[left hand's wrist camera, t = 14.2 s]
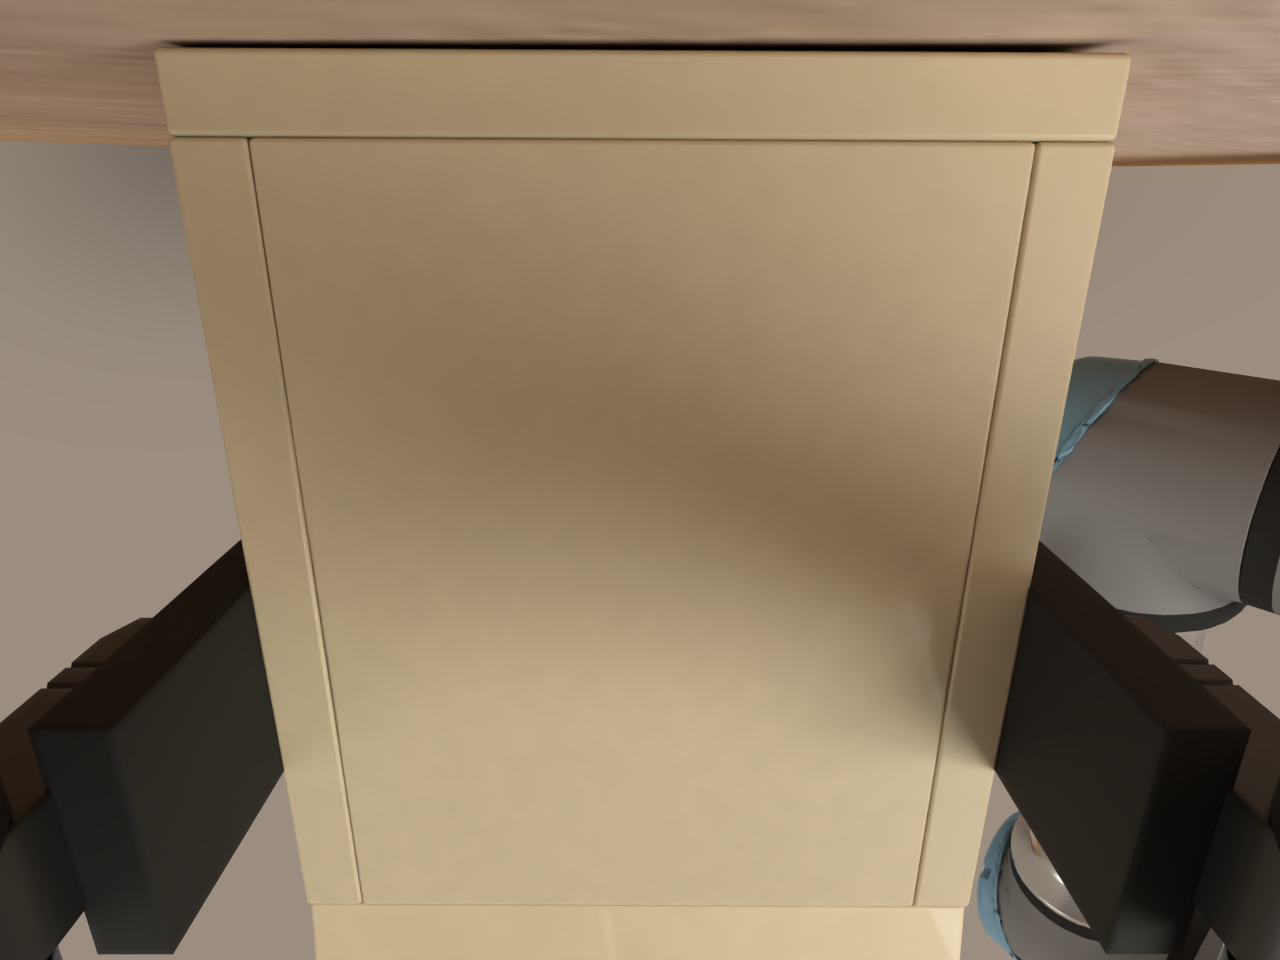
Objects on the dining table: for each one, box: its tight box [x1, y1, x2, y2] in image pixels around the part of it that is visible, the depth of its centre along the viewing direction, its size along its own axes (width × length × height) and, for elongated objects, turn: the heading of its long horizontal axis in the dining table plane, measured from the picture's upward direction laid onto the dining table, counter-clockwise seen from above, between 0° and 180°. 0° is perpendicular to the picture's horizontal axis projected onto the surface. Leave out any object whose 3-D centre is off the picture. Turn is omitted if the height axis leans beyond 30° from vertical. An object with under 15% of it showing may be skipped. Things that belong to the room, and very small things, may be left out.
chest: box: [154, 47, 1131, 906], centre depth 16 cm, size 13×9×11 cm
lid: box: [312, 900, 964, 960], centre depth 19 cm, size 14×9×8 cm
